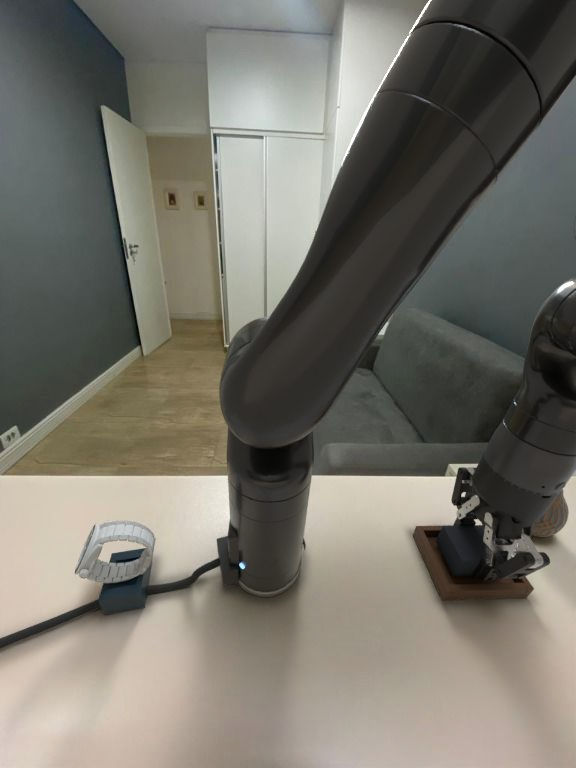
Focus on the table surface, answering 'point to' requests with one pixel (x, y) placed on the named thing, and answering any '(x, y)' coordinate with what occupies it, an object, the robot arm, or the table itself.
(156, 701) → the table surface
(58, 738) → the table surface
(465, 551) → the dark blue rectangular block
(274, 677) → the table surface
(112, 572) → the watch
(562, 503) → the vase
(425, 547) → the brown tray
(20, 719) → the table surface
